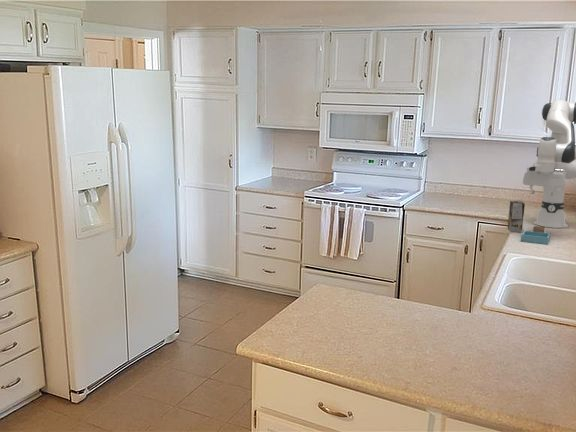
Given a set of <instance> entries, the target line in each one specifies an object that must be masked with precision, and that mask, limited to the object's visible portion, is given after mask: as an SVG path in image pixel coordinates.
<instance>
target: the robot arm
mask: <svg viewBox="0 0 576 432" xmlns="http://www.w3.org/2000/svg"><path fill="white" fill-rule="evenodd" d="M541 116H542V119H543V121H545V122H546V126H547V128H548V129H549V130H550V131H551V135H550V136H543V137H541V138H540V140H539V142H538V146H537V148H536V157H537V159H536V160H535V161H534V163H533V164H532V165H530V166H527V167H526V172H525V173H524V175H523V178H522V184H523V185H524V186H529V189H530V194H531V195H535V190H534V189H533V188H534V186H538V187H542V190H543V192H542V193H543V195H542V200H541V204H540V205H541V206H540V209H539V210H537V215H536V220H535V221H534V222H533V223H532V224H533V225H535V226H539V227H545V228H555V229H560V228H562V229H563V228H564V229H567V228H569V224H567V223H566V221H567V219H566V217H567V212H566V211H564V209H565V203H564V200H565V195H566V194H565V193H566V191H565V188H564V187H565V185H566V180H575V179H576V132H575V131H576V130H575V125H576V102H574V101H573V102H572V101H567V100H564V99H557V100H555V101H554V102H548V103H545V104H544V105H543V106H542V109H541Z"/></svg>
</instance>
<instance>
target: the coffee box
mask: <svg viewBox="0 0 576 432" xmlns="http://www.w3.org/2000/svg"><path fill="white" fill-rule="evenodd" d="M525 206H526V205H525V202H523V201H521V200H520V201H518V200H517V201H516V200H510V201H509V207H508V208H509V209H508V217H507V218H508V220H507V230H508V231H509V232H513V233H523V224H524V216H525Z"/></svg>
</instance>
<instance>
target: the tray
mask: <svg viewBox="0 0 576 432" xmlns="http://www.w3.org/2000/svg"><path fill="white" fill-rule="evenodd" d="M550 240H551V233H548V232H544V233H542V232H533V230H532V231H531V230H524V231H522V232H521V235H520V242H522V243H531V244H540V245H549V243H550Z"/></svg>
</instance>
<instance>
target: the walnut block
mask: <svg viewBox="0 0 576 432" xmlns="http://www.w3.org/2000/svg"><path fill="white" fill-rule="evenodd" d="M545 228H546V227H544V226H539V225H534V226H533V229H532V231H533V232H542V233H545Z"/></svg>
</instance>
